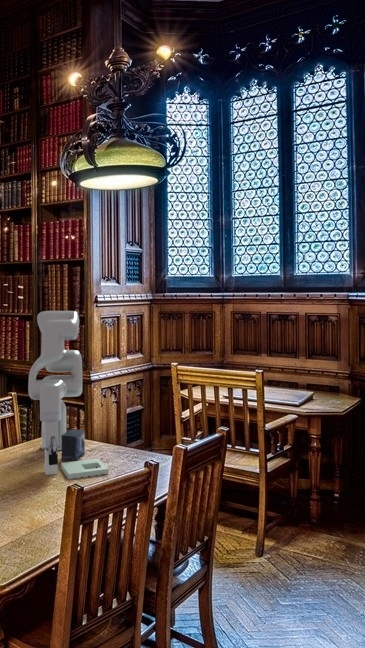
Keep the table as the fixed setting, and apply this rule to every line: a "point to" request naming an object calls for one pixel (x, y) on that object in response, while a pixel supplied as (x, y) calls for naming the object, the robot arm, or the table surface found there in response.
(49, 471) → the block
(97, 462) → the plate
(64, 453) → the small box
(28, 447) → the table surface
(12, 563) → the table surface
